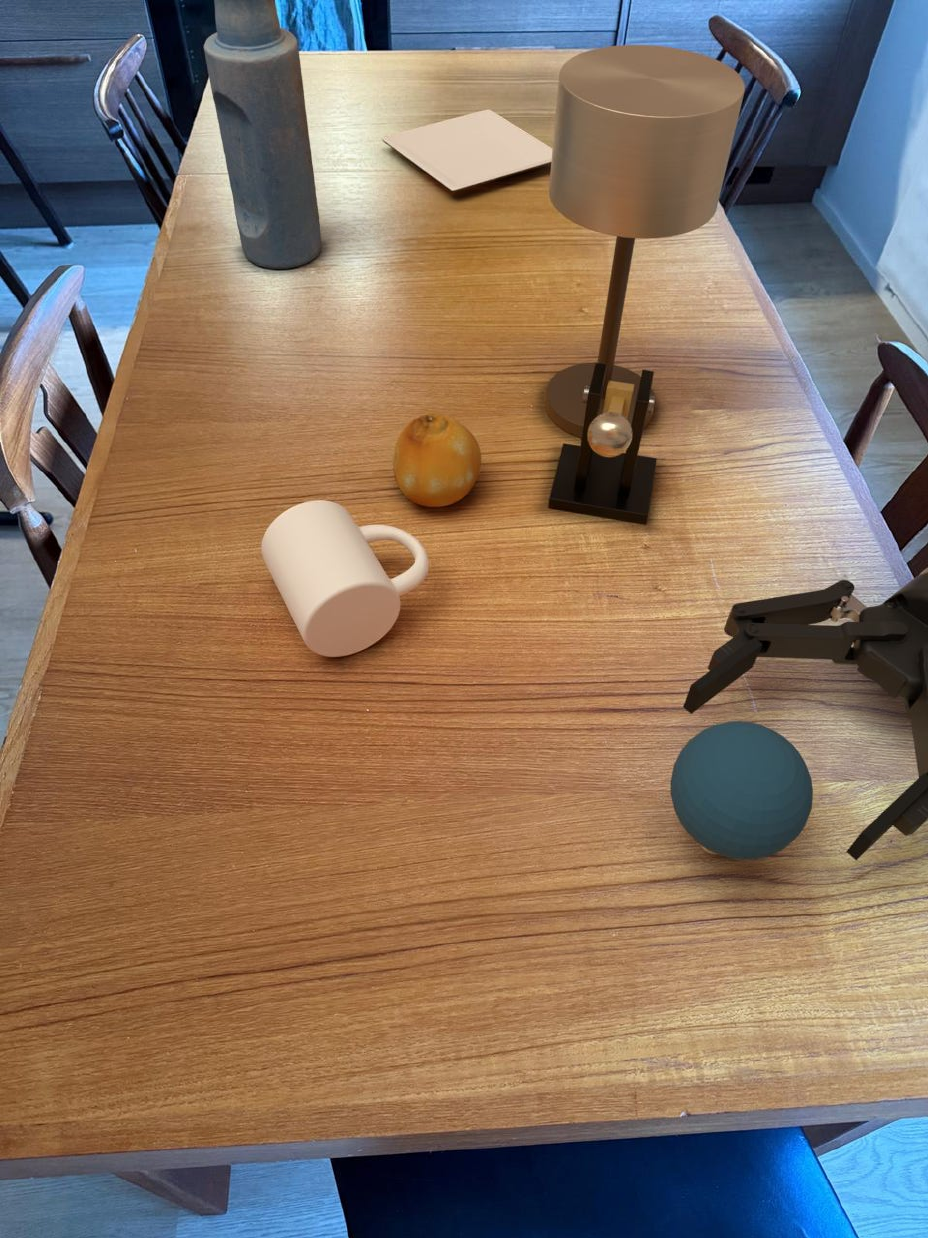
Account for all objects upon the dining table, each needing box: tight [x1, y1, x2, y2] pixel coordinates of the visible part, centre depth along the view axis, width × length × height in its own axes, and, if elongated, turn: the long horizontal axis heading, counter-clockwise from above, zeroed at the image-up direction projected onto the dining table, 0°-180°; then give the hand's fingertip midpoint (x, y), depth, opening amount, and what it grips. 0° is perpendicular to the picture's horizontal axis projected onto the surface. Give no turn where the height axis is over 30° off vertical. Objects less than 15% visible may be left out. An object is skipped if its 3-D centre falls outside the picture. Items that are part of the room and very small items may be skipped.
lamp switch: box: [587, 381, 634, 457], centre depth 70 cm, size 16×3×3 cm, turn 167°
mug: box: [260, 499, 430, 658], centre depth 71 cm, size 12×10×8 cm
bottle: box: [203, 0, 323, 270], centre depth 98 cm, size 10×10×30 cm
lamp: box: [544, 44, 746, 439], centre depth 80 cm, size 14×14×30 cm
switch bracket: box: [547, 362, 658, 526], centre depth 79 cm, size 8×9×12 cm
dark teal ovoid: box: [669, 720, 814, 861], centre depth 57 cm, size 8×8×12 cm
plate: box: [381, 108, 553, 193], centre depth 126 cm, size 19×19×2 cm
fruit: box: [392, 413, 482, 508], centre depth 81 cm, size 8×8×8 cm
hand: (769, 769), depth 58 cm, fingers open, 13 cm apart
